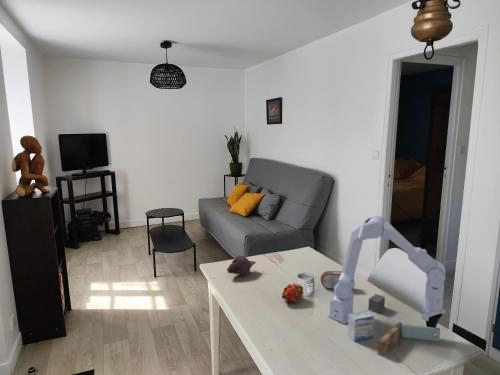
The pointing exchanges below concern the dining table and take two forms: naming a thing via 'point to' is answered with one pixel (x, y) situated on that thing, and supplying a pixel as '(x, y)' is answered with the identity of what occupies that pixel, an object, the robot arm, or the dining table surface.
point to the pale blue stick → (421, 332)
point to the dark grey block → (376, 303)
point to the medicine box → (360, 325)
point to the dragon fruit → (293, 293)
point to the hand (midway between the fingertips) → (430, 330)
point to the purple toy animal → (240, 265)
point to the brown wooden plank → (389, 339)
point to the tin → (330, 279)
